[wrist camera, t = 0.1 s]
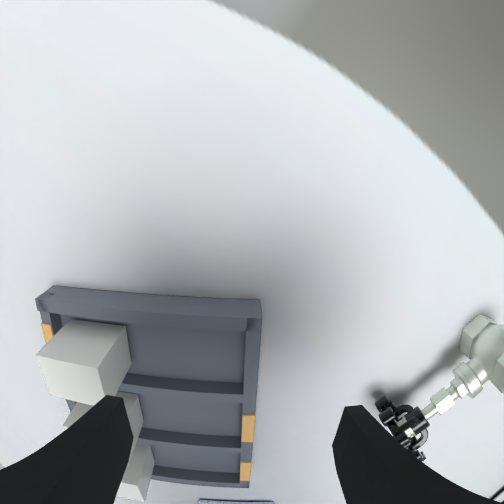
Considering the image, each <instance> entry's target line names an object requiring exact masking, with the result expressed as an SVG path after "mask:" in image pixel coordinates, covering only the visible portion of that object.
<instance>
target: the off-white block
mask: <svg viewBox="0 0 504 504" xmlns="http://www.w3.org/2000/svg"><path fill="white" fill-rule="evenodd" d="M115 396H116V397H121V398H123V400H124V404H125V408H126V412H127V415H128V419H129V422H130V426H131V429H132V433H133V436H134V439H133V443H132V448H131V453H130V457H129V461H128V464H127V466H129V463H130V460H131V457H132V454H133V451H134V448H135V445H136V442H137V440H138V437H139V434H140V431H141V428H142V425H143V422H144V420H143V416H142V411H141V407H140V403H139V398H138V394H132V393H126V392H120V391H117V393H116V395H115ZM92 407H93V405H88V404H84V403H80V402H77V403H76V405H75V406H74V408H73V409H72V411H71V413H70V414H69V416H68V418H67V419H66V421H65V423H64V424H63V428H64V430H66V429H67V428H69V427H70V426H71V425H72V424H73V423H75V422H76V421H77V420H78V419H79V418H80V417H82V416H83V415H84V414H85V413H86V412H87V411H88V410H90V409H91V408H92Z"/></svg>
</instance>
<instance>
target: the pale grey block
mask: <svg viewBox="0 0 504 504" xmlns="http://www.w3.org/2000/svg"><path fill="white" fill-rule="evenodd" d="M154 464H155V461H154V457H153V454H152V450H151V447H150V445H145V444H139V443H136V445H135V448H134V451H133V454H132V457H131V460H130V463H129V466H127V467H126V470H125V473H124V475H123V478H122V481H121V483H120V486H119V489H118V492H117V494H116V496H118V497H122V498H126V499H131V500H135V501H140V502H145V499H146V495H147V491H148V487H149V483H150V479H151V475H152V471H153V467H154Z"/></svg>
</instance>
